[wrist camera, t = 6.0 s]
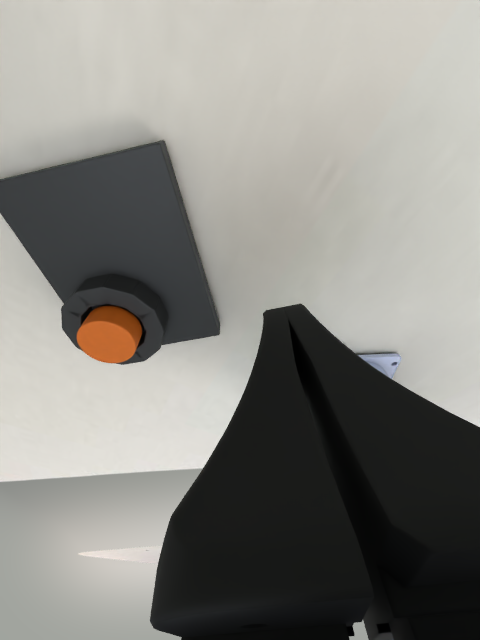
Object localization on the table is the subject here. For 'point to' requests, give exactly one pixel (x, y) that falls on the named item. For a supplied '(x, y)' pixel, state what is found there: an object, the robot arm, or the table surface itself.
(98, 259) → the orange button switch
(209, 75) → the table surface
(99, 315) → the round orange button cap
